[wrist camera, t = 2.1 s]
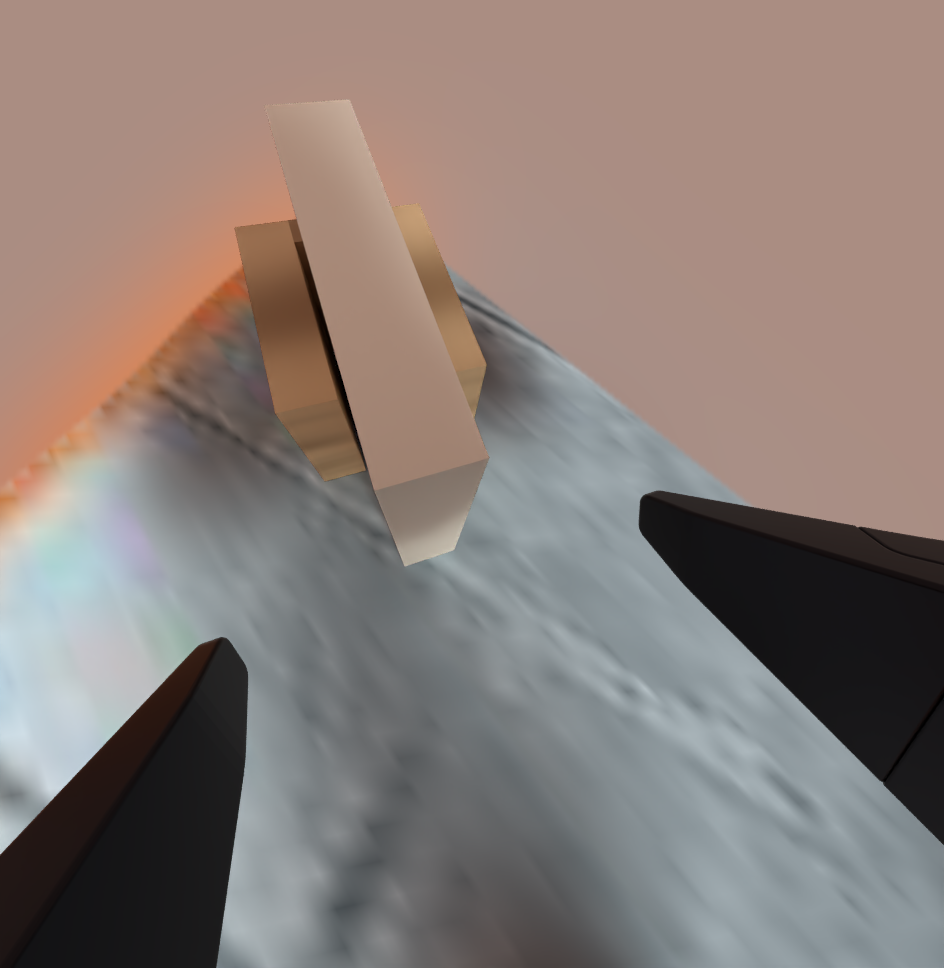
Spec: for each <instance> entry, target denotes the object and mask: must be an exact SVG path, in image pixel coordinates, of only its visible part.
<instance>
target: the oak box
mask: <svg viewBox="0 0 944 968" xmlns="http://www.w3.org/2000/svg"><path fill="white" fill-rule="evenodd" d="M392 210H393V212H394V215H395V217H396V220H397V223H398V225H399V228H400V230H401V233H402V235H403V238H404V240H405V243H406V246H407V248H408V251H409V253H410V256H411V258H412V261H413V264H414V266H415V269H416V271H417V274H418V276H419V279H420V282H421V284H422V287H423V289H424V292H425V294H426V297H427V299H428V302H429V305H430V307H431V310H432V312H433V315H434V317H435V320H436V323H437V325H438V328H439V330H440V333H441V335H442V338H443V341H444V343H445V346H446V348H447V351H448V353H449V356H450V358H451V361H452V364H453V366H454V369H455V371H456V374H457V376H458V379H459V382H460V384H461V387H462V389H463V392H464V394H465V397H466V400H467V402H468V405H469V407H470V410H471V412H472V415H473V417H474V418H475V413H476V409H477V405H478V400H479V396H480V392H481V388H482V383H483V379H484V375H485V370H486V366H487V364H486V362H485V360H484V357H483V355H482V352H481V350H480V348H479V345H478V343H477V340H476V338H475V336H474V333H473V331H472V329H471V326H470V324H469V321H468V319H467V317H466V314H465V312H464V310H463V307H462V305H461V302H460V300H459V298H458V295H457V293H456V291H455V288H454V286H453V283H452V281H451V279H450V276H449V274H448V271H447V269H446V267H445V264H444V262H443V260H442V257H441V255H440V252H439V250H438V248H437V245H436V243H435V241H434V238H433V236H432V233H431V231H430V229H429V226H428V224H427V222H426V219H425V217H424V215H423V212H422V210H421V207H420V205H419V204H412V205H403V206H396V207H392ZM235 232H236V237H237V241H238V246H239V250H240V255H241V260H242V264H243V269H244V273H245V278H246V282H247V287H248V292H249V296H250V301H251V305H252V310H253V314H254V319H255V323H256V328H257V333H258V337H259V342H260V346H261V351H262V355H263V360H264V364H265V369H266V374H267V378H268V383H269V387H270V392H271V396H272V401H273V406H274V410H275V414H276V415H277V417H278V418H279V419H280V421H281V422H282V423H283V425H284V426H285V428H286V429H287V430H288V432H289V433H290V434H291V436H292V437H293V439H294V440H295V441H296V443H297V444H298V445H299V447H300V448H301V450H302V451H303V452H304V454H305V455H306V456H307V458H308V459H309V460H310V462H311V463H312V465H313V466H314V467H315V469H316V470H317V471H318V473H319V474H320V476H321V477H322V478H323V480H324V481H329V480H333V479H336V478H340V477H344V476H347V475H351V474H355V473H358V472H362V471H366V468H365V465H364V461H363V458H362V454H361V451H360V447H359V444H358V440H357V437H356V433H355V430H354V426H353V423H352V419H351V416H350V412H349V408H348V405H347V401H346V398H345V394H344V391H343V387H342V384H341V380H340V377H339V373H338V370H337V366H336V363H335V359H334V356H333V352H334V348H333V345H332V341H331V338H330V334H329V331H328V327H327V324H326V320H325V317H324V313H323V310H322V306H321V303H320V299H319V296H318V292H317V289H316V285H315V282H314V278H313V275H312V271H311V268H310V264H309V261H308V257H307V254H306V250H305V247H304V243H303V240H302V236H301V233H300V229H299V226H298V222H297V219H296V220H288V221H281V222H273V223H265V224H258V225H250V226H243V227H235Z"/></svg>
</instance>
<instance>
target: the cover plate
mask: <svg viewBox="0 0 944 968" xmlns="http://www.w3.org/2000/svg"><path fill="white" fill-rule="evenodd" d="M264 107H265V110H266V114H267V117H268V121H269V124H270V128H271V131H272V135H273V138H274V142H275V145H276V149H277V152H278V156H279V159H280V163H281V166H282V170H283V173H284V177H285V180H286V184H287V187H288V190H289V194H290V198H291V201H292V205H293V208H294V212H295V215H296V219H297V222H298V226H299V229H300V233H301V236H302V240H303V243H304V247H305V250H306V254H307V257H308V261H309V264H310V268H311V271H312V275H313V278H314V282H315V285H316V289H317V292H318V296H319V299H320V303H321V306H322V310H323V313H324V317H325V320H326V324H327V327H328V331H329V334H330V338H331V341H332V345H333V348H334V352H335V355H336V359H337V362H338V366H339V369H340V373H341V376H342V380H343V383H344V387H345V390H346V394H347V397H348V401H349V404H350V408H351V411H352V415H353V418H354V422H355V425H356V429H357V432H358V436H359V439H360V443H361V446H362V450H363V453H364V457H365V460H366V464H367V467H368V471H369V474H370V478H371V481H372V485H373V488H374V491H375V494H376V496H377V499H378V501H379V504H380V506H381V509H382V511H383V514H384V516H385V519H386V521H387V524H388V526H389V529H390V531H391V534H392V536H393V539H394V541H395V544H396V546H397V549H398V551H399V554H400V556H401V559H402V561H403V564H404V566H408V565H411V564H414V563H417V562H420V561H423V560H426V559H429V558H432V557H435V556H438V555H441V554H444V553H447V552H450V551H453V550H454V549H455V546H456V544H457V541H458V539H459V536H460V533H461V531H462V528H463V525H464V523H465V520H466V518H467V515H468V512H469V510H470V507H471V505H472V502H473V499H474V497H475V494H476V492H477V489H478V486H479V484H480V481H481V478H482V476H483V473H484V471H485V468H486V465H487V463H488V460H489V456H488V453H487V451H486V448H485V446H484V443H483V441H482V438H481V435H480V433H479V430H478V428H477V425H476V423H475V420H474V417H473V415H472V412H471V410H470V407H469V405H468V402H467V400H466V397H465V394H464V392H463V389H462V387H461V384H460V382H459V379H458V376H457V374H456V371H455V369H454V366H453V364H452V361H451V358H450V356H449V353H448V351H447V348H446V346H445V343H444V341H443V338H442V335H441V333H440V330H439V328H438V325H437V323H436V320H435V317H434V315H433V312H432V310H431V307H430V305H429V302H428V299H427V297H426V294H425V292H424V289H423V287H422V284H421V282H420V279H419V276H418V274H417V271H416V269H415V266H414V264H413V261H412V258H411V256H410V253H409V251H408V248H407V246H406V243H405V240H404V238H403V235H402V233H401V230H400V228H399V225H398V223H397V220H396V217H395V215H394V212H393V210H392V207H391V205H390V202H389V199H388V197H387V194H386V192H385V189H384V187H383V184H382V181H381V179H380V176H379V174H378V171H377V169H376V166H375V164H374V161H373V159H372V156H371V153H370V151H369V148H368V146H367V143H366V140H365V138H364V136H363V133H362V131H361V128H360V125H359V123H358V120H357V117H356V115H355V112H354V110H353V107H352V105H351V102H350V100H336V101H321V102H308V103H307V102H306V103H292V104H278V105H264Z"/></svg>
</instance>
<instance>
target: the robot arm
mask: <svg viewBox="0 0 944 968" xmlns="http://www.w3.org/2000/svg"><path fill="white" fill-rule="evenodd" d="M639 529H640V531H641V533H642V535H643V536H644V537H645V539H646V540H647V541H648V542H649V544H650V545H651V546H652V547H653V548H654V550H655V551H656V552H657V553H658V554H659V556H660V557H661V558H662V559H663V560H664V562H665V563H666V564H667V565H668V567H669V568H670V569H671V570H672V571H673V573H674V574H675V575H676V576H677V577H678V579H679V580H680V581H681V582H682V583H683V584H684V585H685V586H686V587H687V588H688V589H689V591H690V592H691V593H692V594H693V595H694V596H695V597H696V598H697V599H698V600H699V601H700V602H701V603H702V604H703V605H704V606H705V607H706V608H707V609H708V610H709V611H710V612H711V613H712V614H713V615H714V616H715V617H716V618H717V619H718V620H719V621H720V622H721V623H722V624H723V625H724V626H725V627H726V628H727V629H728V630H729V631H730V632H731V633H732V634H733V635H734V636H735V637H736V638H737V639H738V640H739V641H740V642H741V643H742V644H743V645H744V646H745V647H746V648H747V649H748V650H749V651H750V652H751V653H752V654H753V655H754V656H755V657H756V658H757V659H758V660H759V661H760V662H761V663H762V664H763V665H764V666H765V667H766V668H767V669H768V670H769V671H770V672H771V673H772V674H773V675H774V676H775V677H776V678H777V679H778V680H779V681H780V682H781V683H782V684H783V685H784V686H785V687H786V688H787V689H788V690H789V691H790V692H791V693H792V694H793V695H794V696H795V697H796V698H797V699H798V700H799V701H800V702H801V703H802V704H803V705H804V706H805V707H806V708H807V709H808V710H809V711H810V712H811V713H812V714H813V715H814V716H815V717H816V718H817V719H818V720H819V721H820V722H821V723H822V724H823V725H825V726H826V727H827V728H828V729H829V730H830V731H831V732H832V733H833V734H834V735H835V736H836V737H837V738H838V739H839V740H840V741H841V742H842V743H843V744H844V745H845V746H846V747H847V748H848V749H849V750H850V751H851V752H852V753H853V754H854V755H855V756H856V757H857V758H858V759H859V760H860V761H861V762H862V763H863V764H864V765H865V766H866V767H867V768H868V769H869V770H870V771H871V772H872V773H873V774H874V775H875V776H876V777H877V778H878V779H879V780H880V781H881V782H883V785H884V786H885V787H886V788H887V789H888V790H889V791H890V792H891V793H892V794H893V795H894V796H895V797H896V798H897V799H898V800H899V801H900V802H901V803H902V804H903V805H904V806H905V807H906V808H907V809H908V810H909V811H910V812H911V813H912V814H913V815H914V816H915V817H916V818H917V819H918V820H919V821H920V822H921V823H922V824H923V825H924V826H925V827H926V828H927V829H928V830H929V831H930V832H931V833H932V834H933V835H934V836H935V837H936V838H937V839H938V840H939V841H940V842H941V843H942V844H943V845H944V541H942V540H936V539H929V538H923V537H917V536H911V535H905V534H900V533H893V532H888V531H882V530H876V529H871V528H866V527H858V528H857V527H856V526H853V525H848V524H842V523H837V522H832V521H826V520H821V519H815V518H809V517H804V516H798V515H793V514H787V513H782V512H776V511H771V510H765V509H760V508H754V507H749V506H743V505H737V504H732V503H726V502H721V501H715V500H710V499H704V498H699V497H693V496H688V495H682V494H676V493H671V492H665V491H654V492H651V493H648V494H645V495H644V496H642V498H641V500H640V510H639ZM247 701H248V671H247V668H246V665H245V663H244V662H243V660H242V659H241V657H240V656H239V654H238V653H237V651H236V650H235V648H234V647H233V645H232V644H231V642H230V641H229V640H228V639H227V638H224V637H220V638H217V639H214V640H211V641H208V642H205V643H203V644H200V645H199V646H197V647H196V648H195V649H194V650H193V652H192V653H191V654H190V655H189V656H188V657H187V658H186V659H185V660H184V661H183V662H182V663H181V664H180V665H179V666H178V667H177V668H176V670H175V671H174V672H173V673H172V674H171V675H170V676H169V677H168V678H167V679H166V680H165V681H164V682H163V683H162V684H161V685H160V686H159V687H158V689H157V690H156V691H155V692H154V693H153V694H152V695H151V696H150V697H149V698H148V699H147V700H146V701H145V702H144V703H143V704H142V705H141V707H140V708H139V709H138V710H137V711H136V712H135V713H134V714H133V715H132V716H131V717H130V718H129V719H128V720H127V721H126V722H125V723H124V725H123V726H122V727H121V728H120V729H119V730H118V731H117V732H116V733H115V734H114V735H113V736H112V737H111V738H110V739H109V740H108V741H107V742H106V744H105V745H104V746H103V747H102V748H101V749H100V750H99V751H98V752H97V753H96V754H95V755H94V756H93V757H92V758H91V759H90V760H89V761H88V763H87V764H86V765H85V766H84V767H83V768H82V769H81V770H80V771H79V772H78V773H77V774H76V775H75V776H74V777H73V778H72V779H71V781H70V782H69V783H68V784H67V785H66V786H65V787H64V788H63V789H62V790H61V791H60V792H59V793H58V794H57V795H56V796H55V797H54V798H53V800H52V801H51V802H50V803H49V804H48V805H47V806H46V807H45V808H44V809H43V810H42V811H41V812H40V813H39V814H38V815H37V816H36V817H35V819H34V820H33V821H32V822H31V823H30V824H29V825H28V826H27V827H26V828H25V829H24V830H23V831H22V832H21V833H20V834H19V835H18V837H17V838H16V839H15V840H14V841H13V842H12V843H11V844H10V845H9V846H8V847H7V848H6V849H5V850H4V851H3V852H2V853H1V854H0V968H216V966H217V959H218V952H219V945H220V938H221V931H222V924H223V917H224V910H225V903H226V896H227V889H228V882H229V875H230V868H231V861H232V854H233V847H234V840H235V833H236V825H237V818H238V811H239V804H240V797H241V790H242V783H243V776H244V768H245V757H246V734H247Z"/></svg>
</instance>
